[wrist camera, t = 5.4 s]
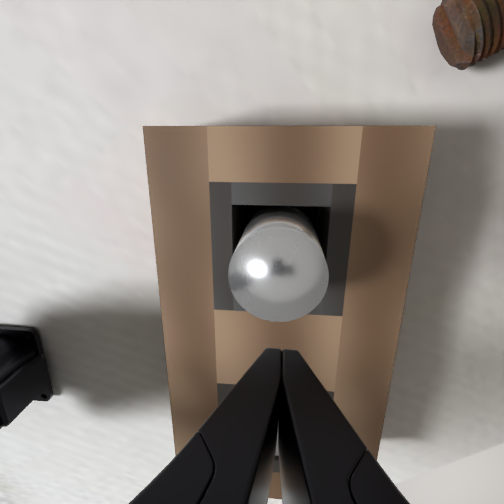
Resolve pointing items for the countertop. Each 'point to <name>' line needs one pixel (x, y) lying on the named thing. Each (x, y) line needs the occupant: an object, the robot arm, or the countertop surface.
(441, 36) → the bolt
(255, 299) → the peg short
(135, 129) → the countertop surface
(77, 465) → the countertop surface
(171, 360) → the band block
